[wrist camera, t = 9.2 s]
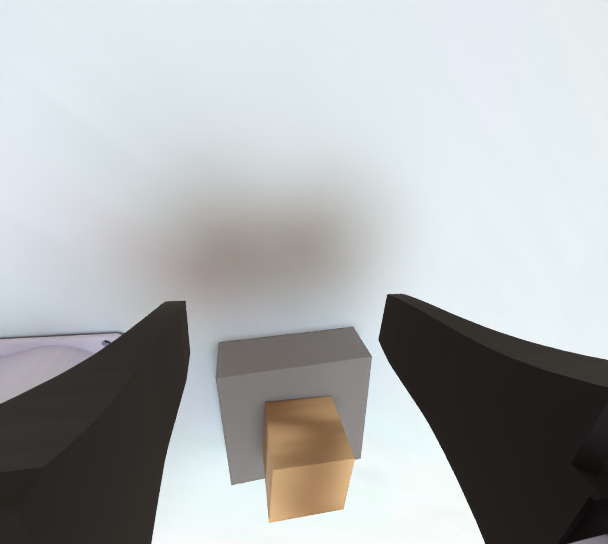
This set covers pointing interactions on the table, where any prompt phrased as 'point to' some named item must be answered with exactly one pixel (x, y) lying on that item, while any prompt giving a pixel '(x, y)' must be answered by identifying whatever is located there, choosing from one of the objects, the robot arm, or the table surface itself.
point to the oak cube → (305, 458)
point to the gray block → (288, 387)
